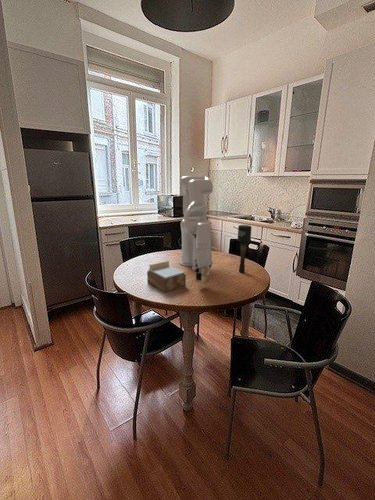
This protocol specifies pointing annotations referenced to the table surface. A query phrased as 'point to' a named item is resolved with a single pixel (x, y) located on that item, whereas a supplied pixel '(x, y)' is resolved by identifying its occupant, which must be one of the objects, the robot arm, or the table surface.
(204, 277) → the cream upright block
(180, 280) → the toolbox
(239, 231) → the potato masher grenade
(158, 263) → the lid
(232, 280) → the table surface
